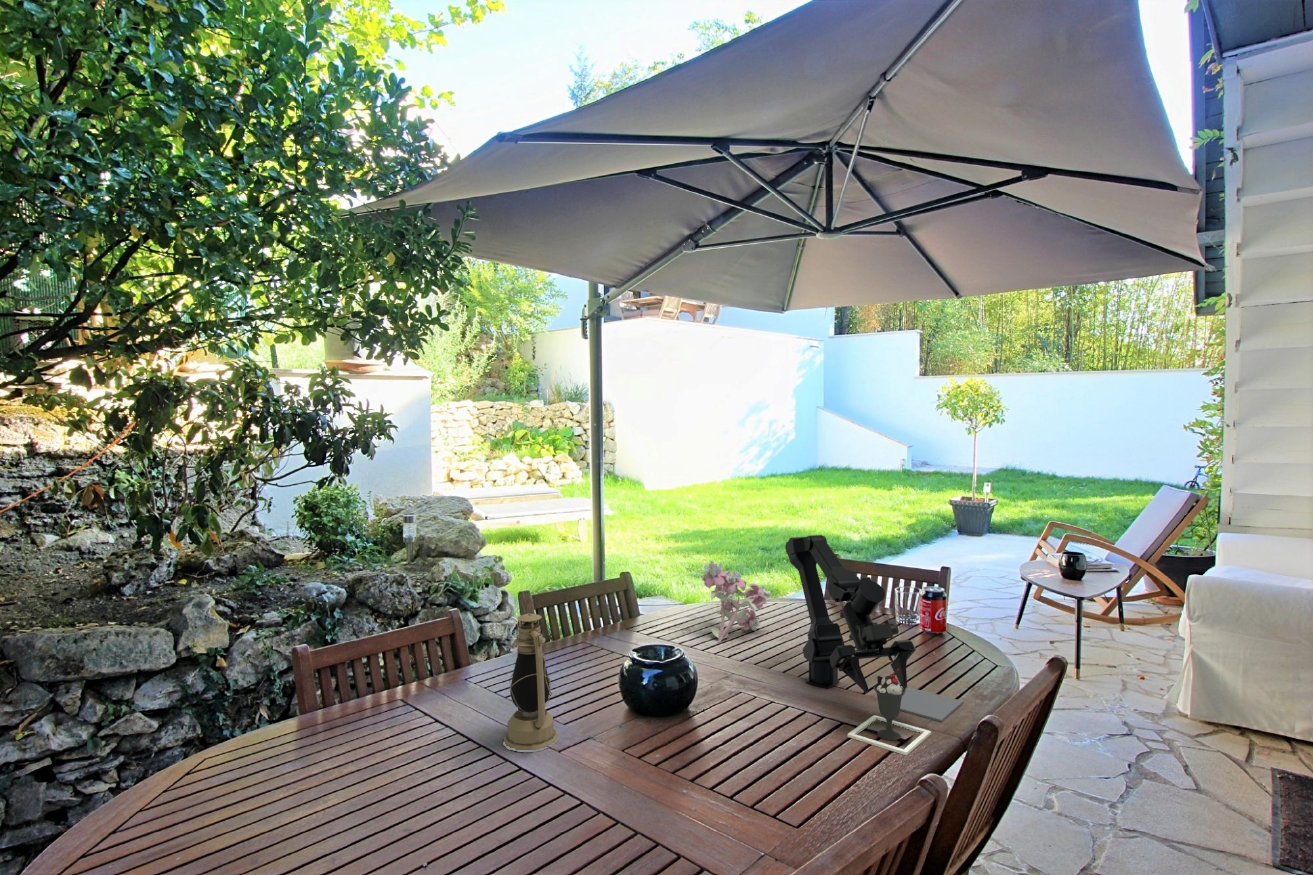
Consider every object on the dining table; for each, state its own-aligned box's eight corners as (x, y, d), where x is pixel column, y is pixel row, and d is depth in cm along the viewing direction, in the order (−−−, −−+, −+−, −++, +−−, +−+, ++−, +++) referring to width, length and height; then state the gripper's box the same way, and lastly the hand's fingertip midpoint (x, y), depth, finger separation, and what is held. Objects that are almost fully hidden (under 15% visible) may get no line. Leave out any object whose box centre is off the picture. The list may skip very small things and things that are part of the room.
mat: (882, 705, 173) (882, 703, 173) (906, 688, 184) (906, 686, 184) (941, 722, 164) (941, 719, 164) (963, 703, 174) (963, 701, 174)
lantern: (570, 746, 153) (568, 605, 152) (515, 760, 147) (513, 613, 146) (544, 721, 166) (542, 590, 165) (493, 733, 160) (491, 597, 159)
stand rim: (847, 736, 157) (847, 734, 157) (874, 717, 167) (874, 714, 167) (906, 755, 148) (906, 752, 148) (931, 733, 158) (931, 731, 158)
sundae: (907, 743, 154) (908, 673, 153) (874, 740, 155) (874, 671, 154) (903, 730, 160) (904, 662, 159) (871, 727, 161) (872, 660, 161)
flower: (776, 644, 214) (778, 561, 224) (699, 637, 214) (705, 554, 224) (765, 653, 232) (767, 576, 242) (694, 646, 233) (699, 569, 243)
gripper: (835, 610, 161) (860, 677, 150) (911, 604, 165) (940, 669, 155) (819, 635, 169) (842, 700, 158) (892, 629, 173) (919, 692, 163)
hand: (886, 690), depth 158 cm, fingers open, 9 cm apart
